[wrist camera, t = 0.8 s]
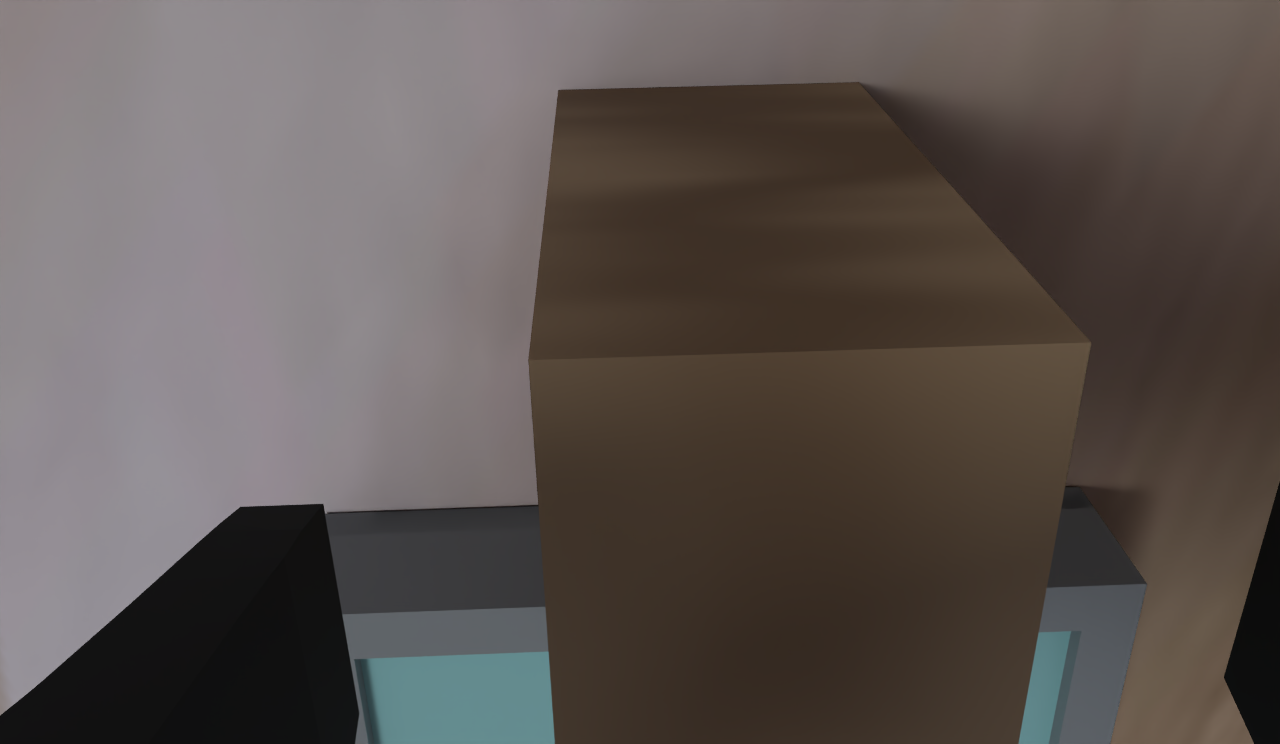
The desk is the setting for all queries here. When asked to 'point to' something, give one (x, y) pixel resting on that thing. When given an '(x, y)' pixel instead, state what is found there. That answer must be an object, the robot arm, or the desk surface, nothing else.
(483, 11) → the desk surface
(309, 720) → the robot arm
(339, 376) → the desk surface
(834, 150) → the peg
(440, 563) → the socket box
